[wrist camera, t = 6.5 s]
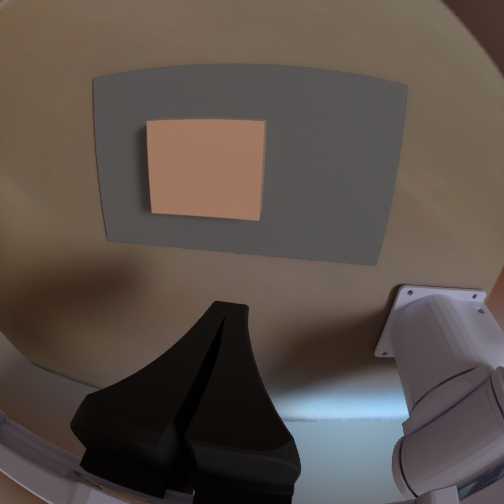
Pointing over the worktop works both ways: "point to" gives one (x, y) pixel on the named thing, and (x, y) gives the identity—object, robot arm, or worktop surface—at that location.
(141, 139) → the mat
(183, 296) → the worktop surface
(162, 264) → the worktop surface
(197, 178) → the tile
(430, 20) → the worktop surface
